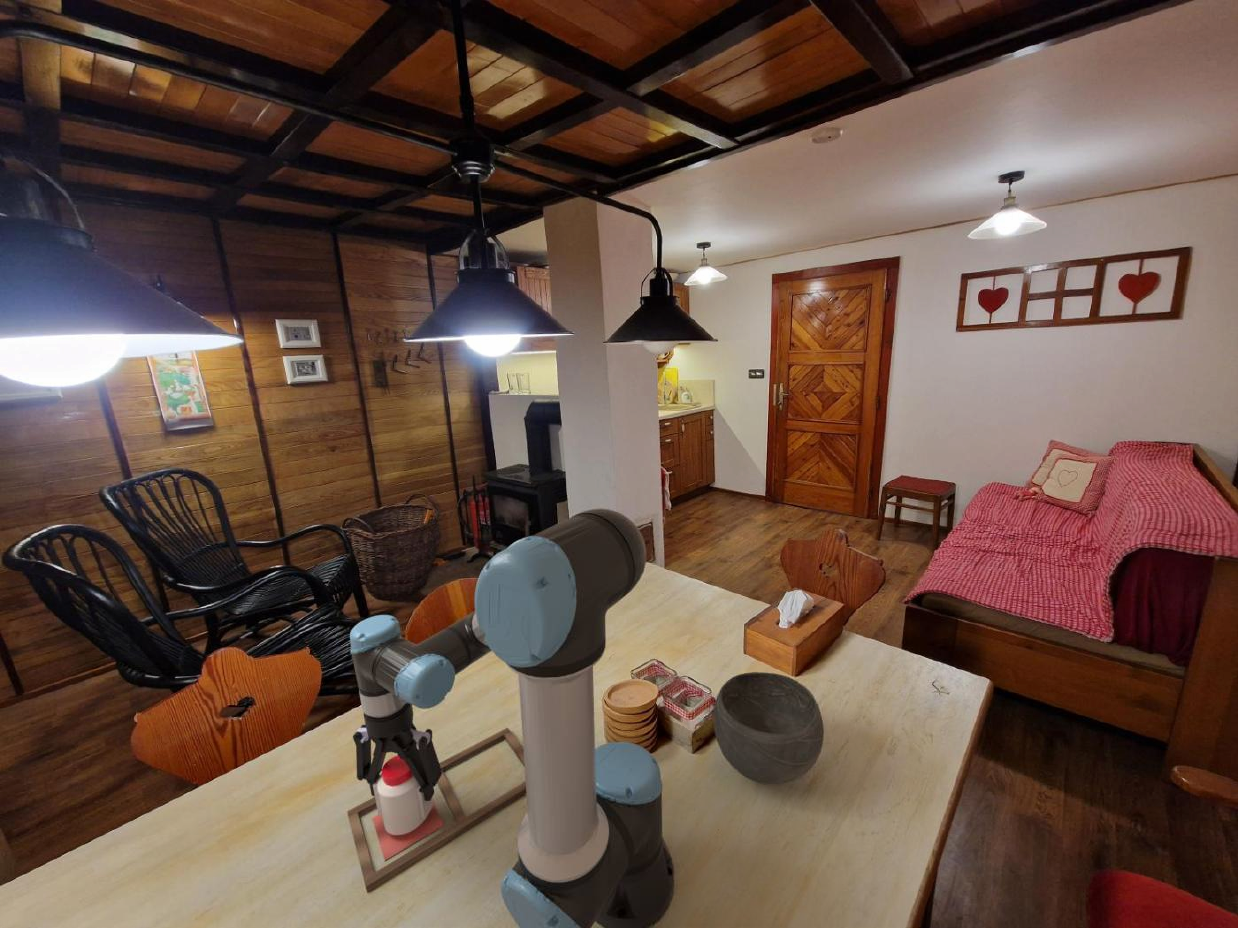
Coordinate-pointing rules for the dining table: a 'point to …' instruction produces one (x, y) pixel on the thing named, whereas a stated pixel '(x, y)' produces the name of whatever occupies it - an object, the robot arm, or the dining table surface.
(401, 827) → the pill bottle
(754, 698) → the bowl
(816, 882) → the dining table surface
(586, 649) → the robot arm
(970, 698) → the dining table surface
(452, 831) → the divided wooden frame
